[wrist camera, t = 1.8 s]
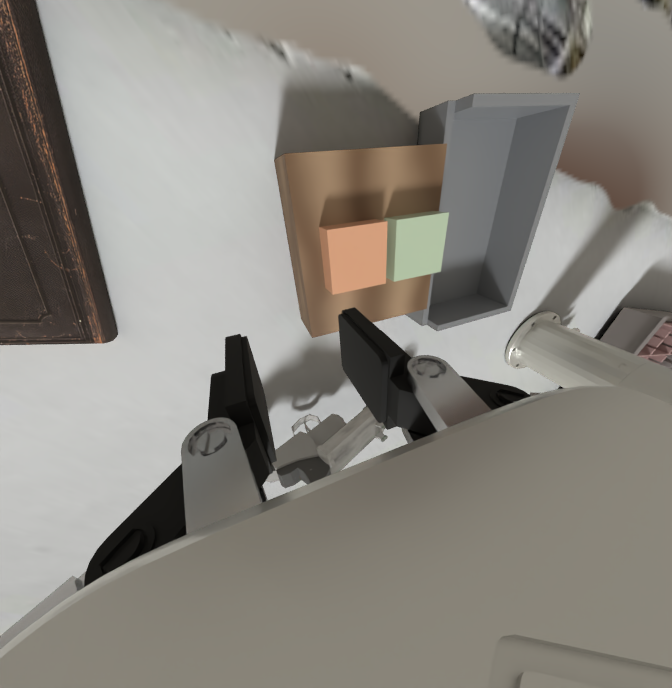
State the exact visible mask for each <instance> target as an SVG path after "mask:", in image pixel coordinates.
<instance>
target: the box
mask: <svg viewBox="0 0 672 688" xmlns="http://www.w3.org/2000/svg"><path fill="white" fill-rule="evenodd" d="M578 98H579V93H527V94H526V93H521V94H520V93H519V94H518V93H517V94H516V93H509V94H508V93H507V94H506V93H499V94H472V95H469V96H467V97H464V98H462V99H459V100H456V101H447V102H444V103H442V104H439V105H437V106H434V107H432V108H429V109H427V110H424V111H422V112H420V118H419V131H418V145H431V144H447V149H446V158H445V166H444V174H443V182H442V190H441V198H440V206H439V211H440V212H449V217H448V224H447V231H446V238H445V245H444V252H443V259H442V266H441V272H437V273H432V274H431V279H430V287H429V295H428V303H427V309H424V310H420V311H416V312H412V313H408V314H405V315H407V316H408V317H410V318H411V319H413V320H414V321H415V322H417V323H418V324H420V325H421V326H424V325H428V326H430V327H431V328H433V329H434V330H436V331H440V330H444V329H447V328H451V327H454V326H458V325H461V324H465V323H468V322H472V321H475V320H479V319H482V318H486V317H489V316H493V315H496V314H500V313H503V312H507V311H511V308H512V305H513V301H514V298H515V295H516V292H517V289H518V286H519V283H520V279H521V276H522V273H523V270H524V267H525V264H526V261H527V258H528V254H529V251H530V248H531V245H532V242H533V239H534V236H535V232H536V229H537V226H538V223H539V220H540V217H541V214H542V210H543V207H544V204H545V201H546V198H547V195H548V192H549V189H550V185H551V182H552V179H553V176H554V173H555V170H556V167H557V163H558V160H559V157H560V154H561V151H562V147H563V145H564V141H565V138H566V135H567V132H568V129H569V126H570V122H571V120H572V116H573V113H574V110H575V107H576V104H577V100H578Z"/></svg>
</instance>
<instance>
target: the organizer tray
mask: <svg viewBox="0 0 672 688" xmlns="http://www.w3.org/2000/svg"><path fill="white" fill-rule="evenodd" d="M600 341H602V342H605V343H607V344H610V345H612V346H615V347H617V348H620V349H622V350H625V351H627V352H630V353H632V354H635V355H637V356H640V357H642V358H645V359H647V360H650V361H652V362H655V363H657V364H660V365H662V366H665V367H667V368H670V369H672V312H666V311H657V310H647V309H637V308H627V307H624V308H623V309H622V311H621V312H620V313H619V315H618V316H617V317H616V319H615V320H614V321H613V323H612V324H611V326H610V327H609V328H608V330H607V331H606V332H605V334H604V335H603V336H602V338H601V339H600Z"/></svg>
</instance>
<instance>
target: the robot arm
mask: <svg viewBox="0 0 672 688" xmlns="http://www.w3.org/2000/svg"><path fill="white" fill-rule="evenodd" d="M338 322H339V334H340V346H341V358H342V366H343V369H344V371H345V373H346V374H347V376H348V378H349V379H350V381H351V382H352V384H353V385H354V387H355V388H356V390H357V391H358V393H359V394H360V396H361V397H362V399H363V400H364V402H365V404H366V405H367V407H368V408H369V410H370V411H371V413H372V414H373V416H374V417H375V419H376V420H377V422H378V423H383V424H384V426H385V427H386V429H387V430H388V429H391V428H393V427H396V426H397V427H401V428H402V432H403V434H404V436H405V438H406V440H407V442H408V444H406V445H404V446H401V447H399V448H396V449H394V450H391V451H389V452H386V453H384V454H381V455H379V456H376V457H374V458H371V459H369V460H366V461H364V462H361V463H359V464H356V465H354V466H351V467H349V468H347V469H344V470H342V471H339V472H337V473H334V474H332V475H329V476H327V477H324V478H322V479H319V480H317V481H315V482H312V483H310V484H307V485H305V486H302V487H300V488H297V489H295V490H293V491H290V492H288V493H285V494H283V495H280V496H278V497H275V498H273V499H271V500H267V497H266V494H265V491H264V488H263V486H262V485H263V484H264V482H265V481H266V479H267V478H268V476H269V475H270V474H272V473H273V470H272V464H271V463H273V462H276V461H277V458H276V453H275V448H274V442H273V437H272V432H271V426H270V421H269V416H268V410H267V405H266V400H265V394H264V390H263V387H262V383H261V380H260V377H259V374H258V371H257V367H256V364H255V361H254V358H253V355H252V351H251V348H250V345H249V342H248V339H247V336H245V337H241V335H240V334H238V335H233V336H229V337H226V338H225V371H222V372H219V373H215V374H212V376H211V385H210V397H209V409H208V420H207V421H205V422H203V423H201V424H200V425H198V426H197V427H195V428H194V429H193V430H192V431H191V432H190V433H189V434H188V435H187V436H186V438H185V440H184V442H183V443H182V448H181V457H182V464H181V465H180V466H179V467H178V468H177V469H176V470H175V471H174V472H173V473H172V474H171V475H170V476H169V477H168V478H167V479H166V480H165V481H164V482H163V483H162V484H161V485H160V486H159V487H158V488H157V489H156V490H155V491H154V492H153V493H152V494H151V495H150V496H149V497H148V498H147V499H146V500H145V501H144V502H143V503H142V504H141V505H140V506H139V507H138V508H137V509H136V510H135V511H134V512H133V513H132V514H131V515H130V516H129V517H128V518H127V519H126V520H125V521H124V522H123V523H122V524H121V525H120V526H119V527H118V528H117V529H116V530H115V531H114V532H113V533H112V534H111V535H110V536H109V537H108V538H107V539H106V540H105V541H104V542H103V543H102V545H101V546H100V547H99V548H98V549H97V551H96V553H95V554H94V556H93V557H92V559H91V561H90V562H89V565H88V568H87V571H86V572H85V573H84V574H82V575H81V576H80V577H79V578H76V577H74V576H72V577H71V578H69V579H68V580H67V581H66V582H65V583H63V584H62V585H61V586H60V587H59V588H57V589H56V590H55V591H54V592H53V593H51V594H50V595H49V596H48V597H47V598H45V599H44V600H43V601H42V602H41V603H39V604H38V605H37V606H36V607H35V608H33V609H32V610H31V611H30V612H28V613H27V614H26V615H25V616H24V617H22V618H21V619H20V620H19V621H18V622H16V623H15V624H14V625H13V626H12V627H10V628H9V629H8V630H7V631H6V632H4V633H3V634H2V635H1V636H0V688H672V369H670V368H667V367H665V366H662V365H660V364H657V363H655V362H652V361H650V360H647V359H645V358H642V357H640V356H637V355H635V354H632V353H630V352H627V351H625V350H622V349H620V348H617V347H615V346H612V345H610V344H607V343H605V342H602V341H600V340H597V339H595V338H592V337H590V336H587V335H585V334H582V333H580V330H579V329H578V328H573V329H570V328H567V327H565V326H562V325H561V320H560V317H559V315H558V314H556V313H553V312H550V311H544V312H540V313H538V314H536V315H534V316H532V317H531V318H529V319H528V320H527V321H526V322H525V323H523V324H522V325H521V326H520V328H519V329H518V330H517V331H516V332H515V334H514V335H513V337H512V338H511V340H510V342H509V344H508V346H507V349H506V354H505V359H506V362H507V364H508V365H510V366H511V367H513V368H517V369H520V368H524V367H529V368H530V369H532V370H534V371H535V372H537V373H539V374H540V375H542V376H544V377H546V378H547V379H549V380H551V381H552V382H554V383H556V384H558V385H559V386H561V387H563V389H557V390H553V391H549V392H544V393H531V392H530V395H529V394H527V393H526V392H524V391H523V390H520V389H518V388H516V387H512V386H509V385H504V384H499V383H494V382H489V381H483V380H478V379H473V378H468V377H463V376H459V375H458V374H457V372H456V371H455V370H454V369H453V368H452V367H451V366H450V365H449V364H448V363H447V362H446V361H444V360H442V359H440V358H438V357H435V356H429V355H421V356H416V357H414V358H411V357H410V356H409V355H408V354H407V353H406V352H405V351H403V350H402V349H401V348H400V347H399V346H398V345H397V344H396V343H395V342H393V341H392V340H391V339H390V338H389V337H388V336H387V335H386V334H385V333H384V332H382V331H381V330H379V329H378V328H377V327H376V326H375V325H374V324H373V323H372V322H371V321H370V320H368V319H367V318H366V317H365V316H364V315H363V314H362V313H361V312H360V311H359V310H357V309H356V308H355V307H354V308H349V309H345V310H342V313H341V314H339V315H338Z"/></svg>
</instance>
